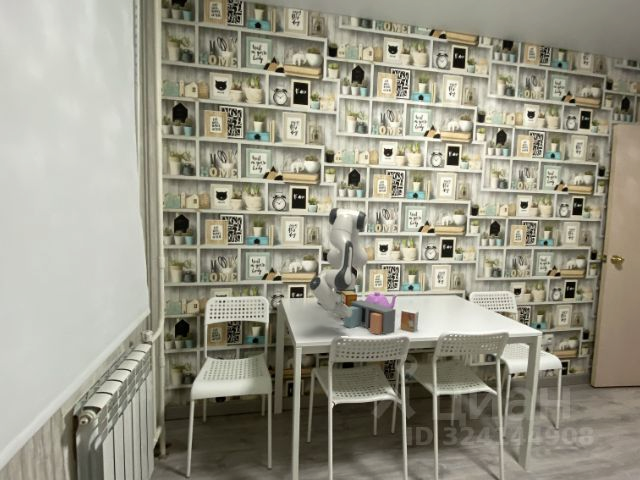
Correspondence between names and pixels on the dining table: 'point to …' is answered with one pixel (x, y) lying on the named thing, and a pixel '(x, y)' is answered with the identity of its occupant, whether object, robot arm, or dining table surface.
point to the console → (372, 308)
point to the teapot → (381, 300)
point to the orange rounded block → (376, 323)
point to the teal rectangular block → (354, 317)
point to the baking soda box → (348, 298)
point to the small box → (409, 320)
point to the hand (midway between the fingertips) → (342, 316)
